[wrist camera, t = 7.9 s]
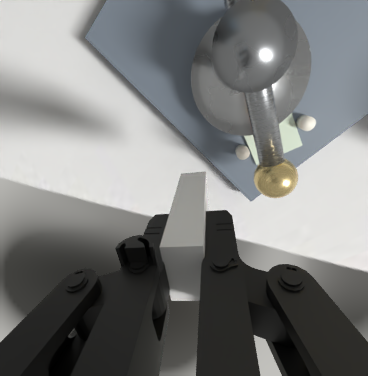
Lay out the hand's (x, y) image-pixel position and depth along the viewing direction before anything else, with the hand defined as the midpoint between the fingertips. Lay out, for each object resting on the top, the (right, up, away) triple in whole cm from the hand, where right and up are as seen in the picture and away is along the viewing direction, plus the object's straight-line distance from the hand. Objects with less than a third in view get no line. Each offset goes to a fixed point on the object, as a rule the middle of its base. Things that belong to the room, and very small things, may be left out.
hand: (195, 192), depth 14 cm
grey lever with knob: (+4, +11, +5) cm, 13 cm away
